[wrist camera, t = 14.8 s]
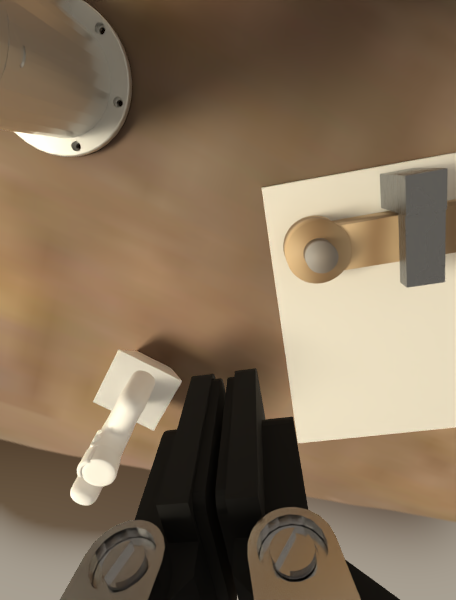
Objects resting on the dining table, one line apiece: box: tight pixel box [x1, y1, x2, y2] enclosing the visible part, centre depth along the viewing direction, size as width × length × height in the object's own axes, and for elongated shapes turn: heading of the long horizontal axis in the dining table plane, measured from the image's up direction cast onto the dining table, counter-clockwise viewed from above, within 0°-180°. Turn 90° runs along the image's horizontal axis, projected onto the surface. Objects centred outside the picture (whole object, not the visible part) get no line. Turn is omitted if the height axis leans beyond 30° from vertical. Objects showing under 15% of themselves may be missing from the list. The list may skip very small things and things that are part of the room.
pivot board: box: [262, 152, 456, 443], centre depth 38 cm, size 29×30×1 cm
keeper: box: [380, 168, 448, 288], centre depth 32 cm, size 9×3×6 cm, turn 10°
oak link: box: [283, 199, 456, 284], centre depth 32 cm, size 25×6×5 cm, turn 101°
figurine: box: [70, 350, 182, 505], centre depth 36 cm, size 7×9×15 cm
